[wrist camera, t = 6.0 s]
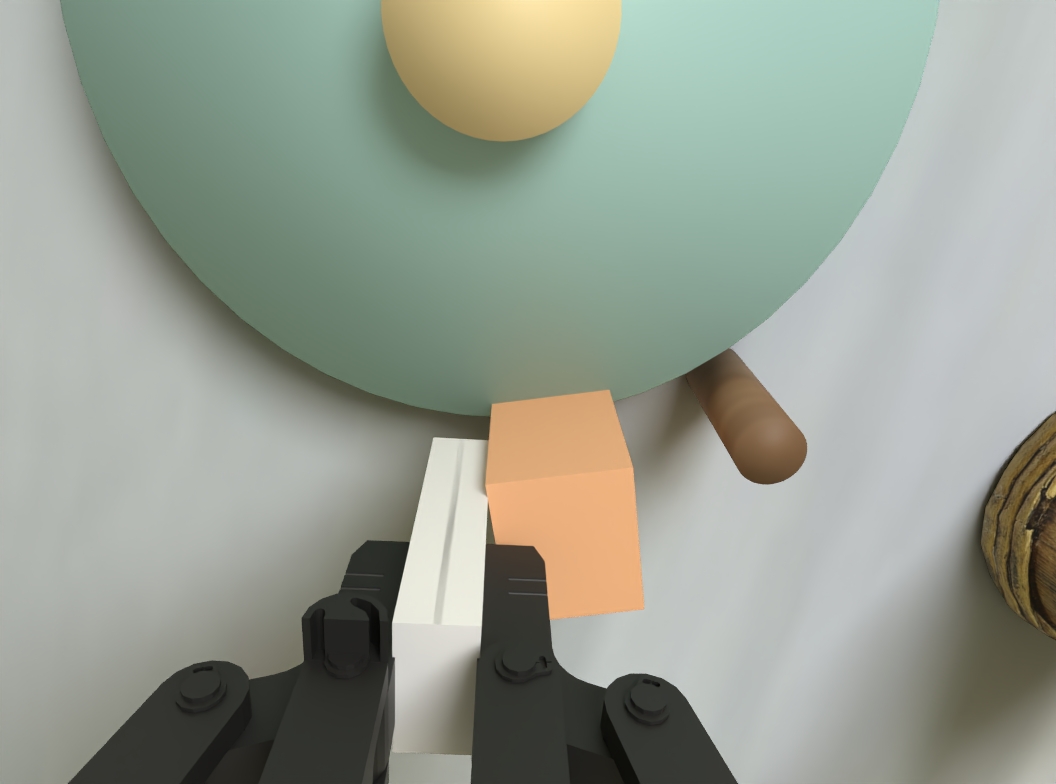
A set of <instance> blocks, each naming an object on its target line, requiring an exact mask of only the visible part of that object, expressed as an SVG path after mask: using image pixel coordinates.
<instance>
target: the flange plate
mask: <svg viewBox="0 0 1056 784" xmlns="http://www.w3.org/2000/svg"><path fill="white" fill-rule="evenodd" d="M60 2H61V8H62V14H63V20H64V24H65V27H66V31H67V34H68V38H69V41H70V45H71V48H72V52H73V55H74V59H75V62H76V66H77V69H78V73H79V76H80V80H81V83H82V86H83V88H84V91H85V93H86V96H87V98H88V100H89V103H90V105H91V108H92V110H93V113H94V115H95V118H96V120H97V123H98V125H99V127H100V130H101V132H102V135H103V137H104V140H105V142H106V144H107V146H108V147H109V149H110V151H111V153H112V155H113V157H114V159H115V160H116V162H117V164H118V166H119V168H120V170H121V171H122V173H123V175H124V177H125V179H126V181H127V183H128V184H129V186H130V188H131V190H132V192H133V194H134V195H135V197H136V198H137V199H138V201H139V202H140V204H141V205H142V207H143V208H144V210H145V211H146V212H147V214H148V215H149V217H150V218H151V220H152V221H153V223H154V224H155V225H156V227H157V228H158V230H159V231H160V233H161V234H162V236H163V237H164V239H165V240H166V241H167V242H168V244H169V245H170V246H171V247H172V248H173V249H174V251H175V252H176V253H177V254H178V255H179V256H180V257H181V259H182V260H183V261H184V262H185V263H186V264H187V266H188V267H189V268H190V269H191V270H192V271H193V272H194V274H195V275H196V276H197V277H198V278H199V279H200V281H201V282H202V283H203V284H204V285H205V286H206V287H208V288H209V289H210V290H211V291H212V292H213V293H214V294H215V295H216V296H217V297H218V298H219V299H220V300H222V301H223V302H224V303H225V304H226V305H227V306H228V307H229V308H230V309H231V310H232V311H233V312H235V313H236V314H237V315H238V316H239V317H240V318H241V319H242V320H244V321H245V322H246V323H248V324H249V325H250V326H252V327H253V328H255V329H256V330H257V331H259V332H260V333H261V334H263V335H264V336H265V337H267V338H268V339H269V340H271V341H272V342H274V343H275V344H276V345H278V346H279V347H280V348H282V349H283V350H285V351H287V352H288V353H290V354H292V355H294V356H295V357H297V358H299V359H300V360H302V361H304V362H306V363H307V364H309V365H311V366H313V367H314V368H316V369H318V370H320V371H321V372H323V373H325V374H327V375H329V376H331V377H334V378H336V379H338V380H341V381H343V382H345V383H348V384H350V385H352V386H355V387H357V388H359V389H362V390H364V391H366V392H369V393H371V394H375V395H378V396H381V397H385V398H388V399H391V400H394V401H398V402H401V403H404V404H408V405H411V406H414V407H420V408H425V409H431V410H437V411H442V412H448V413H454V414H459V415H473V416H491V421H490V433H489V446H488V458H487V470H486V482H485V486H486V492H487V497H488V503H489V509H490V515H491V520H492V526H493V532H494V537H495V543H496V544H498V545H521V546H534V547H535V549H536V550H537V551H538V553H539V554H540V555H541V557H542V558H543V560H544V561H545V568H546V582H547V592H548V593H547V596H548V604H549V616H550V620H552V619H561V618H570V617H579V616H588V615H597V614H606V613H615V612H624V611H633V610H642V609H644V598H643V586H642V573H641V560H640V548H639V535H638V522H637V510H636V497H635V484H634V472H633V465H632V462H631V459H630V455H629V452H628V449H627V446H626V442H625V439H624V436H623V432H622V429H621V426H620V423H619V419H618V416H617V413H616V410H615V406H614V403H613V402H614V401H617V400H620V399H624V398H627V397H630V396H633V395H637V394H640V393H643V392H645V391H647V390H650V389H652V388H654V387H656V386H659V385H661V384H663V383H666V382H668V381H670V380H672V379H675V378H677V377H679V376H681V375H684V374H686V373H688V372H689V371H691V370H693V369H694V368H696V367H698V366H700V365H701V364H703V363H705V362H706V361H708V360H710V359H711V358H713V357H715V356H717V355H718V354H720V353H722V352H723V351H725V350H727V349H728V348H730V347H731V346H732V345H734V344H735V343H736V342H738V341H739V340H740V339H742V338H743V337H744V336H746V335H747V334H748V333H750V332H751V331H752V330H753V329H755V328H756V327H757V326H759V325H760V324H761V323H763V322H764V321H765V320H767V319H768V318H769V317H770V316H771V315H772V314H773V313H774V312H775V311H776V310H777V309H779V308H780V307H781V306H782V305H783V304H784V303H785V302H786V301H787V300H788V299H789V298H790V297H791V296H792V295H793V294H794V293H795V292H796V291H797V290H799V289H800V288H801V287H802V286H803V285H804V284H805V283H806V282H807V280H808V279H809V278H810V277H811V276H812V274H813V273H814V272H815V271H816V270H817V269H818V267H819V266H820V265H821V264H822V263H823V261H824V260H825V259H826V258H827V257H828V255H829V254H830V253H831V252H832V251H833V249H834V248H835V247H836V246H837V245H838V244H839V242H840V241H841V239H842V238H843V236H844V235H845V233H846V232H847V230H848V229H849V227H850V226H851V224H852V223H853V221H854V220H855V218H856V217H857V215H858V214H859V212H860V211H861V209H862V208H863V206H864V205H865V203H866V202H867V200H868V199H869V197H870V196H871V194H872V192H873V190H874V188H875V186H876V184H877V183H878V181H879V179H880V177H881V175H882V173H883V171H884V169H885V167H886V165H887V163H888V161H889V159H890V157H891V155H892V154H893V152H894V150H895V148H896V146H897V144H898V141H899V139H900V136H901V134H902V131H903V128H904V126H905V123H906V121H907V118H908V115H909V113H910V110H911V108H912V105H913V102H914V100H915V97H916V95H917V92H918V89H919V87H920V83H921V79H922V75H923V72H924V68H925V64H926V60H927V56H928V53H929V49H930V45H931V41H932V37H933V34H934V30H935V26H936V20H937V13H938V6H939V0H60Z"/></svg>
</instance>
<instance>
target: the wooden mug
mask: <svg viewBox="0 0 1056 784" xmlns="http://www.w3.org/2000/svg"><path fill="white" fill-rule="evenodd" d="M981 547H982V550H983V553H984V557H985V560H986V563H987V566H988V570H989V573H990V576H991V578H992V579H993V581H994V583H995V584H996V586H997V588H998V589H999V591H1000V592H1001V594H1002V596H1003V597H1004V599H1005V601H1006V602H1007V604H1008V606H1009V607H1010V608H1011V609H1012V610H1013V611H1014V612H1015V613H1017V614H1018V615H1019V616H1020V617H1021V618H1022V619H1024V620H1025V621H1027V622H1028V623H1030V624H1031V625H1033V626H1034V627H1036V628H1037V629H1039V630H1040V631H1041V632H1043V633H1044V634H1046V635H1047V636H1049V637H1051V638H1053V639H1055V640H1056V413H1055V414H1054V415H1052V416H1051V417H1050V418H1049V419H1048V420H1047V421H1046V422H1045V423H1044V424H1043V425H1042V426H1041V427H1040V428H1039V429H1038V430H1037V431H1036V432H1035V433H1034V434H1033V435H1032V436H1031V437H1030V438H1029V439H1028V440H1027V441H1026V442H1025V443H1024V444H1023V445H1022V446H1021V447H1020V449H1019V450H1018V452H1017V453H1016V455H1015V456H1014V458H1013V459H1012V461H1011V462H1010V464H1009V465H1008V467H1007V468H1006V470H1005V471H1004V473H1003V475H1002V477H1001V479H1000V480H999V482H998V484H997V486H996V488H995V490H994V492H993V494H992V496H991V498H990V499H989V501H988V503H987V505H986V507H985V514H984V522H983V529H982V537H981Z"/></svg>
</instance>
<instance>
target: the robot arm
mask: <svg viewBox="0 0 1056 784" xmlns="http://www.w3.org/2000/svg"><path fill="white" fill-rule="evenodd" d="M488 446H489V440H473V439H455V438H436V437H434V438H433V442H432V447H431V451H430V456H429V460H428V465H427V469H426V474H425V478H424V483H423V487H422V491H421V496H420V500H419V505H418V509H417V514H416V518H415V523H414V527H413V532H412V536H411V541H410V542H393V541H370V540H367V541H366V542H365V543H364V544H363V545H362V546H361V547H360V548H359V549H358V550H357V551H355V552H354V553H353V554H352V556H351V559H350V562H349V565H348V567H347V570H346V575H345V576H344V579H343V582H342V585H341V590H340V591H339V593H338V594H335V595H332V596H329V597H326V598H323V599H321V600H319V601H318V602H316V603H315V604H313V605H312V606H310V607H309V608H308V610H307V611H306V613H305V614H304V615H303V617H302V632H303V648H304V662H303V663H302V664H300V665H298V666H296V667H294V668H292V669H290V670H288V671H285V672H281V673H278V674H275V675H270V676H265V677H261V678H256V679H251V680H249V678H248V676H247V674H246V673H245V672H244V670H243V669H242V668H241V667H239V666H237V665H235V664H232V663H230V662H225V661H207V662H202V663H197V664H193V665H191V666H189V667H187V668H184V669H182V670H180V671H178V672H176V673H175V674H173V675H172V676H171V677H170V678H168V679H167V680H166V681H165V682H163V683H162V684H161V685H160V686H159V687H158V689H157V690H156V691H155V692H154V693H153V694H152V695H151V696H150V697H149V698H148V699H147V700H146V701H145V702H144V703H143V704H142V706H141V707H140V708H139V709H138V710H137V711H136V712H135V713H134V714H133V715H132V716H131V717H130V718H129V719H128V720H127V721H126V722H125V724H124V725H123V726H122V727H121V728H120V729H119V730H118V731H117V732H116V733H115V734H114V735H113V736H112V737H111V738H110V739H109V741H108V742H107V743H106V744H105V745H104V746H103V747H102V748H101V749H100V750H99V751H98V752H97V753H96V754H95V755H94V756H93V758H92V759H91V760H90V761H89V762H88V763H87V764H86V765H85V766H84V767H83V768H82V769H81V770H80V771H79V772H78V773H77V775H76V776H75V777H74V778H73V779H72V780H71V781H70V782H69V783H68V784H388V783H389V755H390V749H391V744H392V753H426V754H455V755H472V771H471V784H738V783H737V781H736V780H735V778H734V776H733V775H732V773H731V771H730V770H729V768H728V766H727V765H726V763H725V762H724V760H723V758H722V757H721V755H720V753H719V752H718V750H717V748H716V747H715V745H714V743H713V742H712V740H711V739H710V737H709V735H708V734H707V732H706V730H705V729H704V727H703V725H702V724H701V722H700V720H699V719H698V717H697V716H696V714H695V712H694V711H693V709H692V707H691V706H690V704H689V702H688V701H687V699H686V698H685V697H684V696H683V694H682V693H681V692H680V691H679V690H678V689H677V688H676V687H675V686H674V685H672V684H670V683H669V682H667V681H665V680H664V679H662V678H659V677H656V676H652V675H649V674H628V675H625V676H622V677H619V678H617V679H616V680H615V681H614V682H613V683H611V684H610V685H609V686H608V688H607V689H606V688H603V687H599V686H596V685H593V684H589V683H587V682H584V681H582V680H579V679H577V678H576V677H574V676H572V675H571V674H569V673H568V672H567V671H566V670H565V669H564V668H563V667H561V666H560V665H559V663H558V661H557V660H556V658H555V656H554V653H553V649H552V641H551V629H550V616H549V604H548V596H547V593H548V592H547V582H546V568H545V561H544V560H543V558H542V557H541V555H540V554H539V553H538V551H537V550H536V549H535V547H534V546H521V545H498V544H486V528H487V507H488V497H487V492H486V486H485V482H486V470H487V458H488Z"/></svg>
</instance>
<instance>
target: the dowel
mask: <svg viewBox="0 0 1056 784" xmlns="http://www.w3.org/2000/svg"><path fill="white" fill-rule="evenodd" d="M686 376H687V381H688V383H689V385H690V387H691V389H692V391H693V392H694V394H695V396H696V398H697V399H698V401H699V403H700V404H701V406H702V408H703V410H704V411H705V413H706V415H707V416H708V418H709V420H710V422H711V423H712V425H713V427H714V429H715V430H716V432H717V434H718V435H719V437H720V439H721V441H722V442H723V444H724V446H725V447H726V449H727V451H728V453H729V454H730V456H731V458H732V460H733V461H734V463H735V465H736V466H737V468H738V470H739V471H740V473H741V474H742V475H743V476H744V477H745V478H746V479H748V480H750V481H752V482H754V483H758V484H774V483H778V482H781V481H784V480H786V479H788V478H789V477H791V476H792V475H794V474H795V473H796V472H797V471H798V470H799V468H800V467H801V466H802V464H803V462H804V460H805V458H806V454H807V443H806V439H805V437H804V435H803V434H802V432H801V431H800V430H799V429H798V427H797V426H796V425H795V424H794V422H793V421H792V420H791V419H790V418H789V416H788V415H787V414H786V413H785V412H784V410H783V409H782V408H781V407H780V406H779V404H778V403H777V402H776V401H775V400H774V398H773V397H772V396H771V395H770V393H769V392H768V391H767V390H766V389H765V387H764V386H763V385H762V384H761V383H760V381H759V380H758V379H757V378H756V377H755V375H754V374H753V373H752V372H751V371H750V369H749V368H748V367H747V366H746V364H745V363H744V362H743V361H742V360H741V358H740V357H739V356H738V355H737V354H736V353H735V352H734V351H733V350H732V349H730V348H728V349H727V350H725V351H723V352H722V353H720V354H718V355H717V356H715V357H713V358H711V359H710V360H708V361H706V362H705V363H703V364H701V365H700V366H698V367H696V368H694V369H693V370H691V371H689V372H688V373H686Z"/></svg>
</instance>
